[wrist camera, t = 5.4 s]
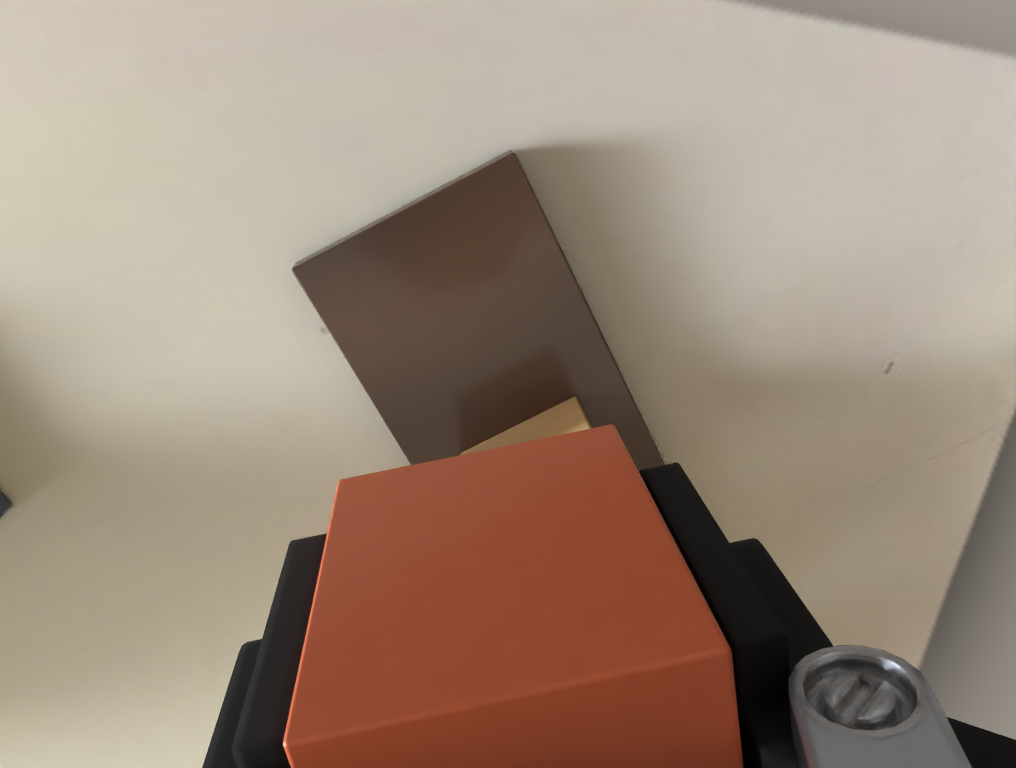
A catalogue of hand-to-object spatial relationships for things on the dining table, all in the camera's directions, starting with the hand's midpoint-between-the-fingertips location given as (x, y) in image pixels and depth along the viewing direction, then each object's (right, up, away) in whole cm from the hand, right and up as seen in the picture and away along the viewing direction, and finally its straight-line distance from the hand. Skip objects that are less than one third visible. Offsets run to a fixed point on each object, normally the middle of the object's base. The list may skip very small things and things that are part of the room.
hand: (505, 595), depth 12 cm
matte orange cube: (0, 0, +1) cm, 1 cm away
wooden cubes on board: (+2, -2, +16) cm, 16 cm away
